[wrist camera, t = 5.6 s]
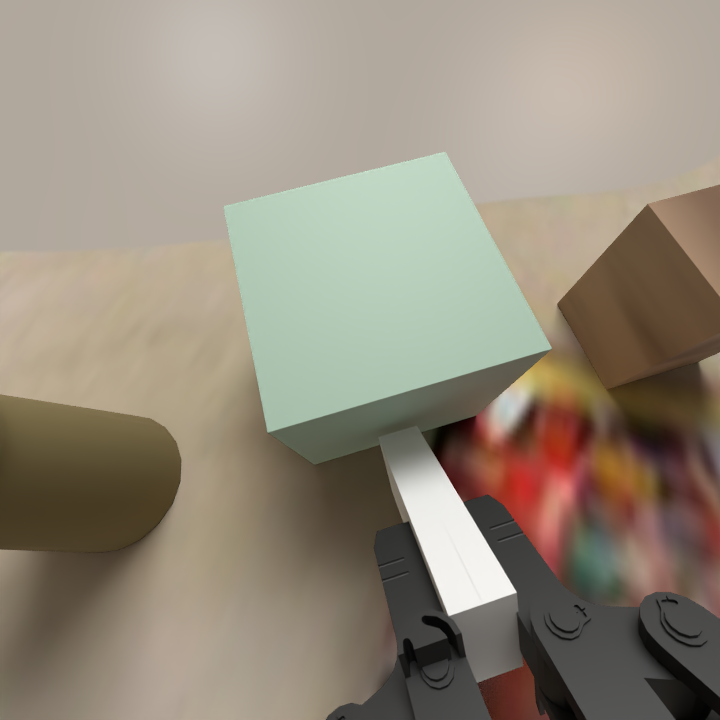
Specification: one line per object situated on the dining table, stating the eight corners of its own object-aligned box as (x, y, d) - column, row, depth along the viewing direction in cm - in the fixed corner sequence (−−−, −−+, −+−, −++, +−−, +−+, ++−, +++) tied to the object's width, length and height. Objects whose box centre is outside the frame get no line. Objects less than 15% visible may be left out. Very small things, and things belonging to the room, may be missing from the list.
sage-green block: (419, 280, 20) (445, 151, 13) (476, 415, 17) (552, 348, 10) (279, 318, 20) (223, 206, 12) (314, 464, 17) (267, 432, 9)
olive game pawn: (126, 392, 18) (-181, 251, 8) (208, 466, 17) (-44, 407, 7) (24, 492, 17) (-518, 473, 7) (104, 585, 15) (-439, 746, 5)
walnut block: (641, 280, 20) (770, 171, 13) (698, 362, 18) (880, 281, 12) (556, 304, 20) (648, 203, 13) (605, 389, 18) (739, 322, 11)
